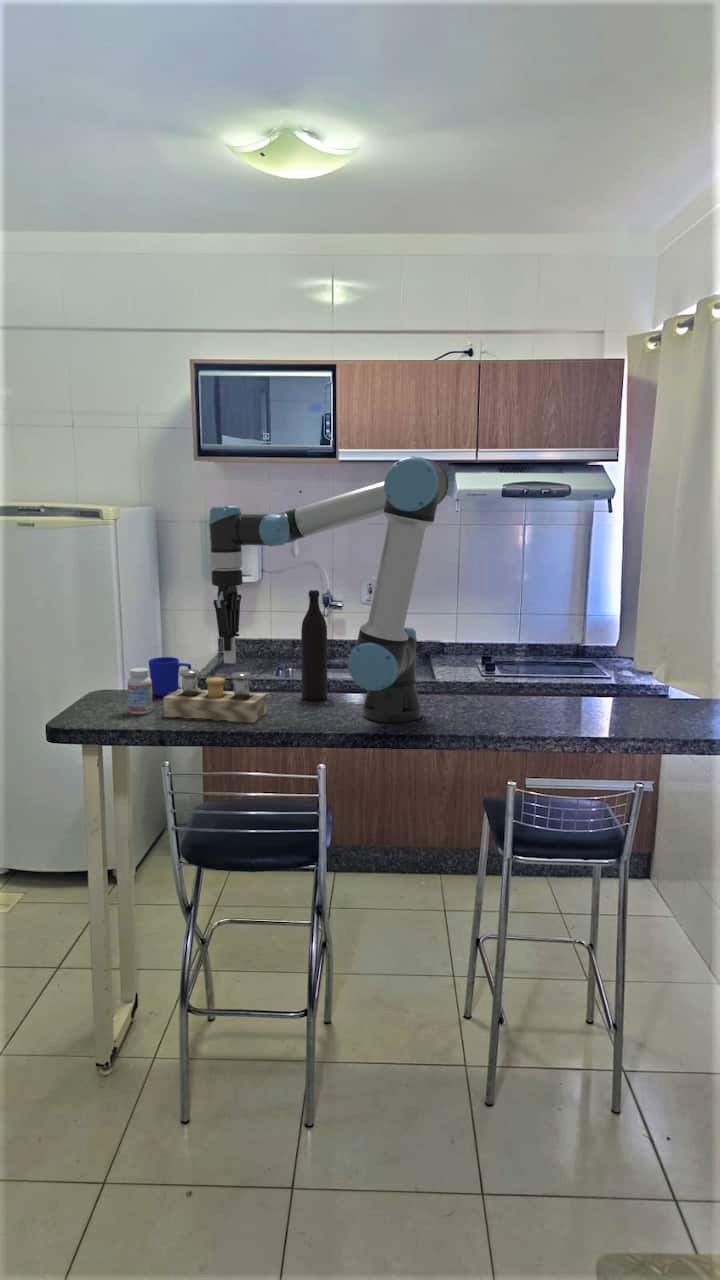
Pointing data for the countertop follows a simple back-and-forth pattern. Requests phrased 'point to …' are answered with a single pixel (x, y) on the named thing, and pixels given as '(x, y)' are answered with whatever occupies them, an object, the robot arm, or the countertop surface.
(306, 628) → the wine bottle
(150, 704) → the pill bottle
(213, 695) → the tan cylinder
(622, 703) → the countertop surface
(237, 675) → the glass spice jar
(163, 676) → the mug
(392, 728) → the countertop surface
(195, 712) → the wooden spice rack
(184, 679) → the salt shaker
